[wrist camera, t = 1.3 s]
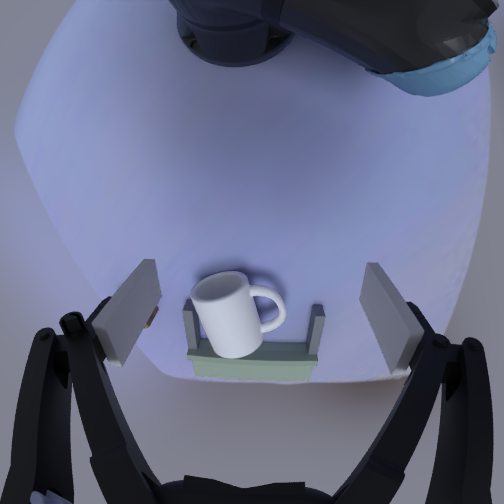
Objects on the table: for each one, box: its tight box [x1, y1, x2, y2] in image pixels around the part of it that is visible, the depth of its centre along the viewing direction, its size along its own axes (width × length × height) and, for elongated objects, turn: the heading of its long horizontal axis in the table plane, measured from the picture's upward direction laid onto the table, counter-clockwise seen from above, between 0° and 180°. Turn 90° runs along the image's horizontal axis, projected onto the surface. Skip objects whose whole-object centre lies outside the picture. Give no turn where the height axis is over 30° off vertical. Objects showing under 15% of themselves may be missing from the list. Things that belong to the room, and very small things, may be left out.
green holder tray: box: [182, 299, 325, 381], centre depth 42 cm, size 16×21×4 cm
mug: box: [190, 271, 286, 359], centre depth 37 cm, size 12×10×8 cm
